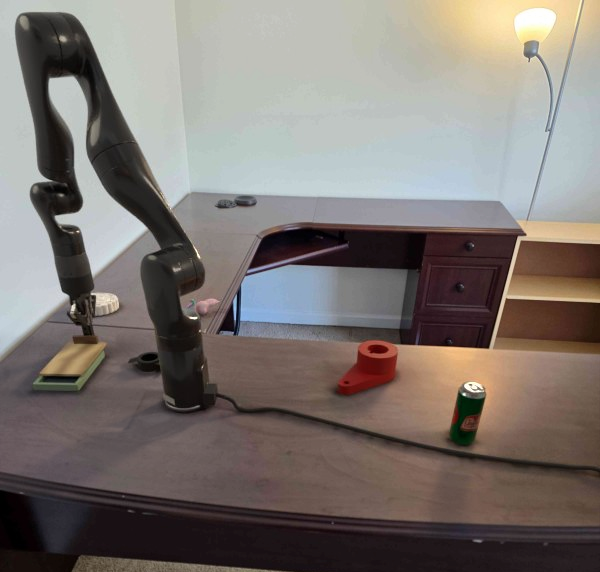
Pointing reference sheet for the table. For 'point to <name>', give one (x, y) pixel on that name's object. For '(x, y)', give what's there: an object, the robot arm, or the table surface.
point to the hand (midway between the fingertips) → (89, 337)
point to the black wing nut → (147, 362)
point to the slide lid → (74, 357)
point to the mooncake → (105, 303)
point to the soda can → (467, 413)
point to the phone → (61, 379)
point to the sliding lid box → (76, 386)
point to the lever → (370, 367)
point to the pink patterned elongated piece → (202, 305)
